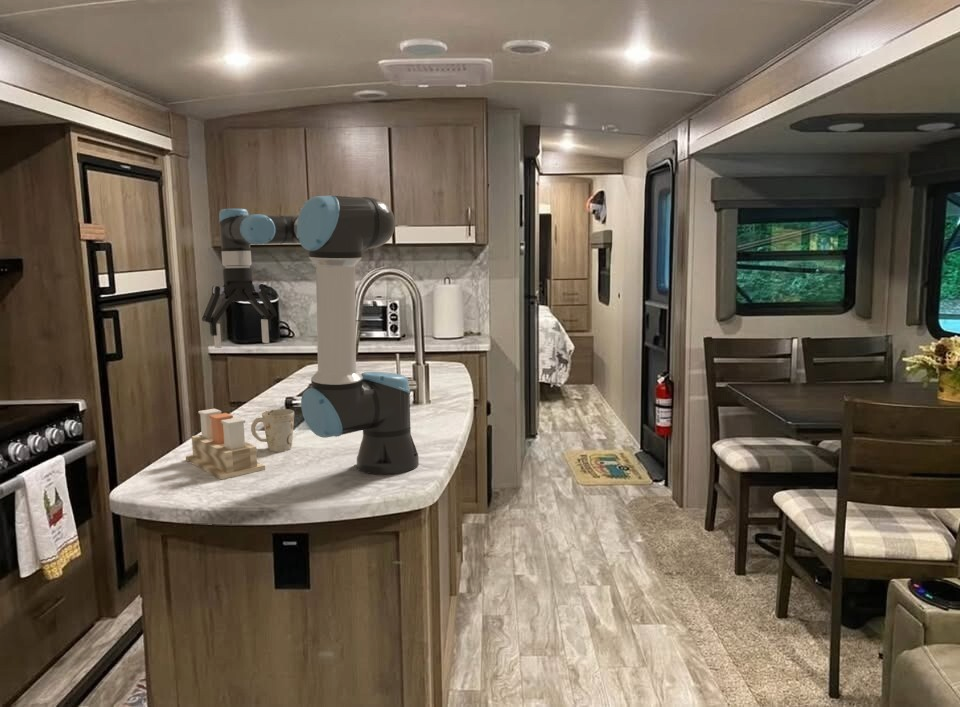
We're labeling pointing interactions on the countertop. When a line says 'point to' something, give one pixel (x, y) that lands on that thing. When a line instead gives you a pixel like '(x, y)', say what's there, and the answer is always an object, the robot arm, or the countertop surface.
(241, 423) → the plug near
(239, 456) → the stepped wooden base
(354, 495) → the countertop surface
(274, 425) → the mug
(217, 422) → the plug centre
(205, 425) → the plug far
